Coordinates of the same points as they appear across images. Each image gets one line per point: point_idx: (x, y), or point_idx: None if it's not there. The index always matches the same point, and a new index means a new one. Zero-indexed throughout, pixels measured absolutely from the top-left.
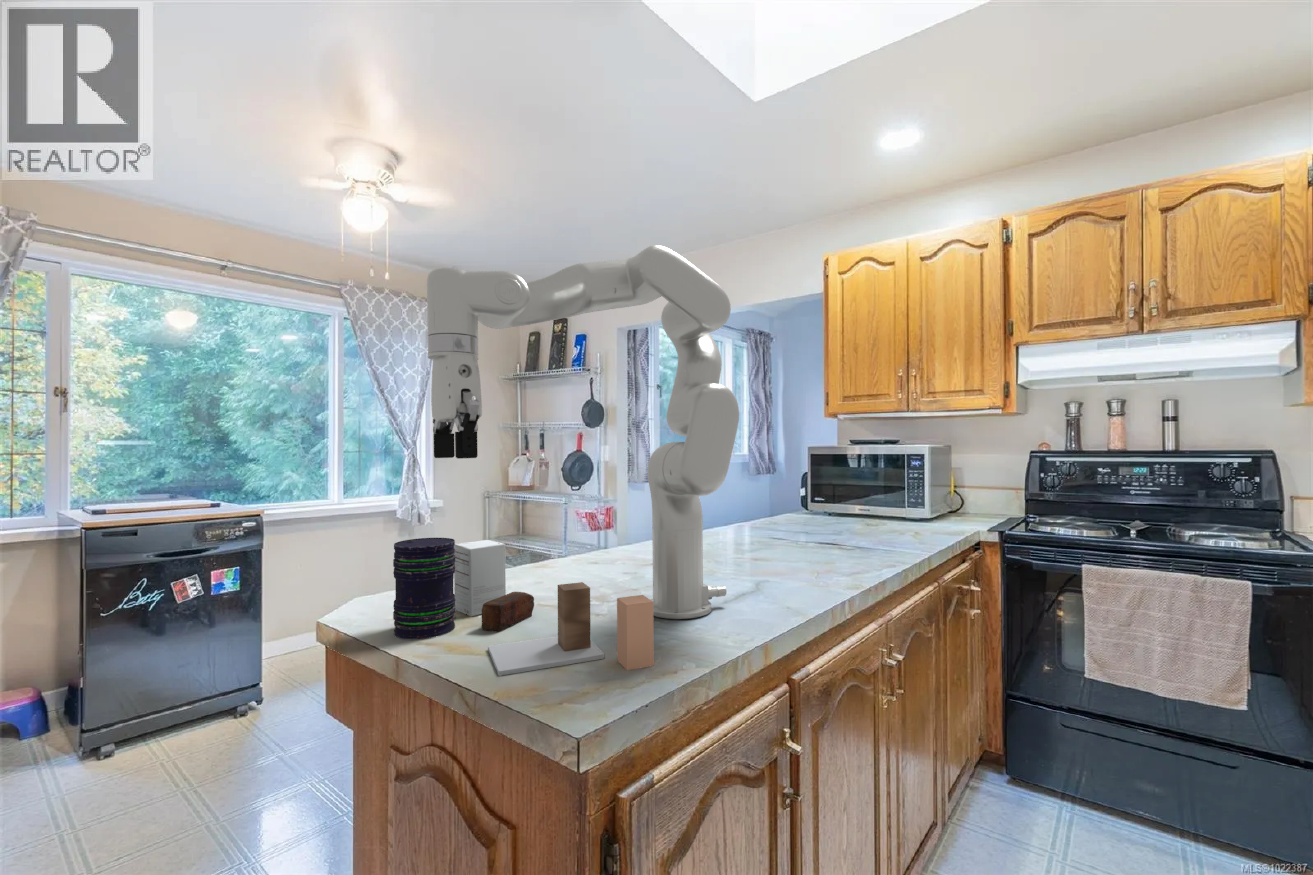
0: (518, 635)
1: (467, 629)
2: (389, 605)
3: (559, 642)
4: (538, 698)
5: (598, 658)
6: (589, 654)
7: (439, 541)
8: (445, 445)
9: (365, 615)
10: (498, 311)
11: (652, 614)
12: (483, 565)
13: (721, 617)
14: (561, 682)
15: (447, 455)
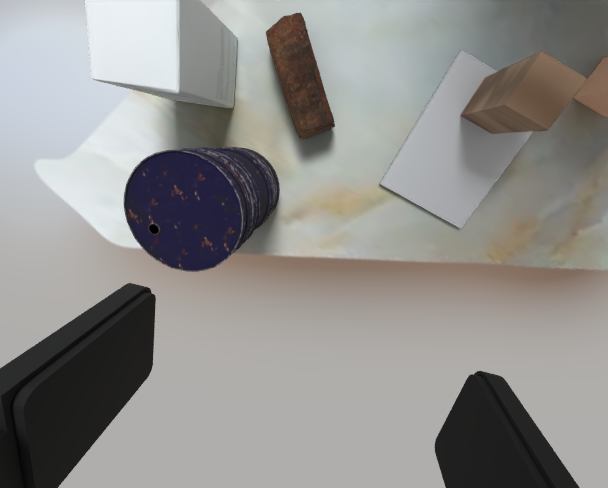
0: (367, 118)
1: (283, 149)
2: (85, 155)
3: (469, 119)
4: (543, 239)
5: None
6: None
7: (188, 184)
8: (107, 379)
9: (117, 203)
10: None
11: None
12: (200, 64)
13: None
14: (541, 197)
15: (148, 327)
